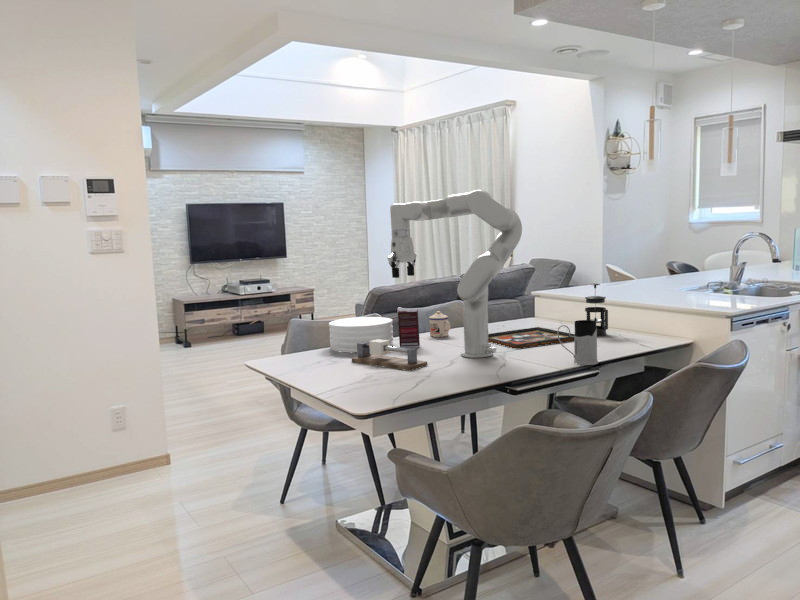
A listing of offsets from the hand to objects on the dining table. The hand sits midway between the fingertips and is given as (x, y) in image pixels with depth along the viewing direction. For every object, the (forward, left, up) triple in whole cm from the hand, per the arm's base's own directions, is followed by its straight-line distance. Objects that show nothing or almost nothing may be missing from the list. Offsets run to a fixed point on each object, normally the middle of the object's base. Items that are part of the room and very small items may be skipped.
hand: (403, 276), depth 257 cm
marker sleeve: (-3, +19, -28) cm, 34 cm away
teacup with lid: (+13, -40, -32) cm, 53 cm away
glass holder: (-67, -18, -32) cm, 76 cm away
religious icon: (-27, -51, -33) cm, 66 cm away
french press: (-48, -75, -32) cm, 95 cm away
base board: (-7, +19, -32) cm, 38 cm away
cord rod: (-6, +19, -30) cm, 36 cm away
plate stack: (+28, -2, -32) cm, 43 cm away
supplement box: (+8, -11, -32) cm, 35 cm away
